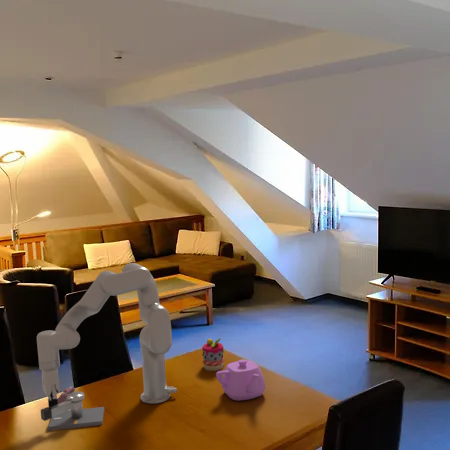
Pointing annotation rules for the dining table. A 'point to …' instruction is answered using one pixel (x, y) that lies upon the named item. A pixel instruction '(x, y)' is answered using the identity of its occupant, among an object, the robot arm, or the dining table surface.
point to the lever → (65, 407)
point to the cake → (213, 355)
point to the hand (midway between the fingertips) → (53, 408)
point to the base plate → (77, 419)
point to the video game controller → (65, 394)
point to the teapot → (242, 380)
